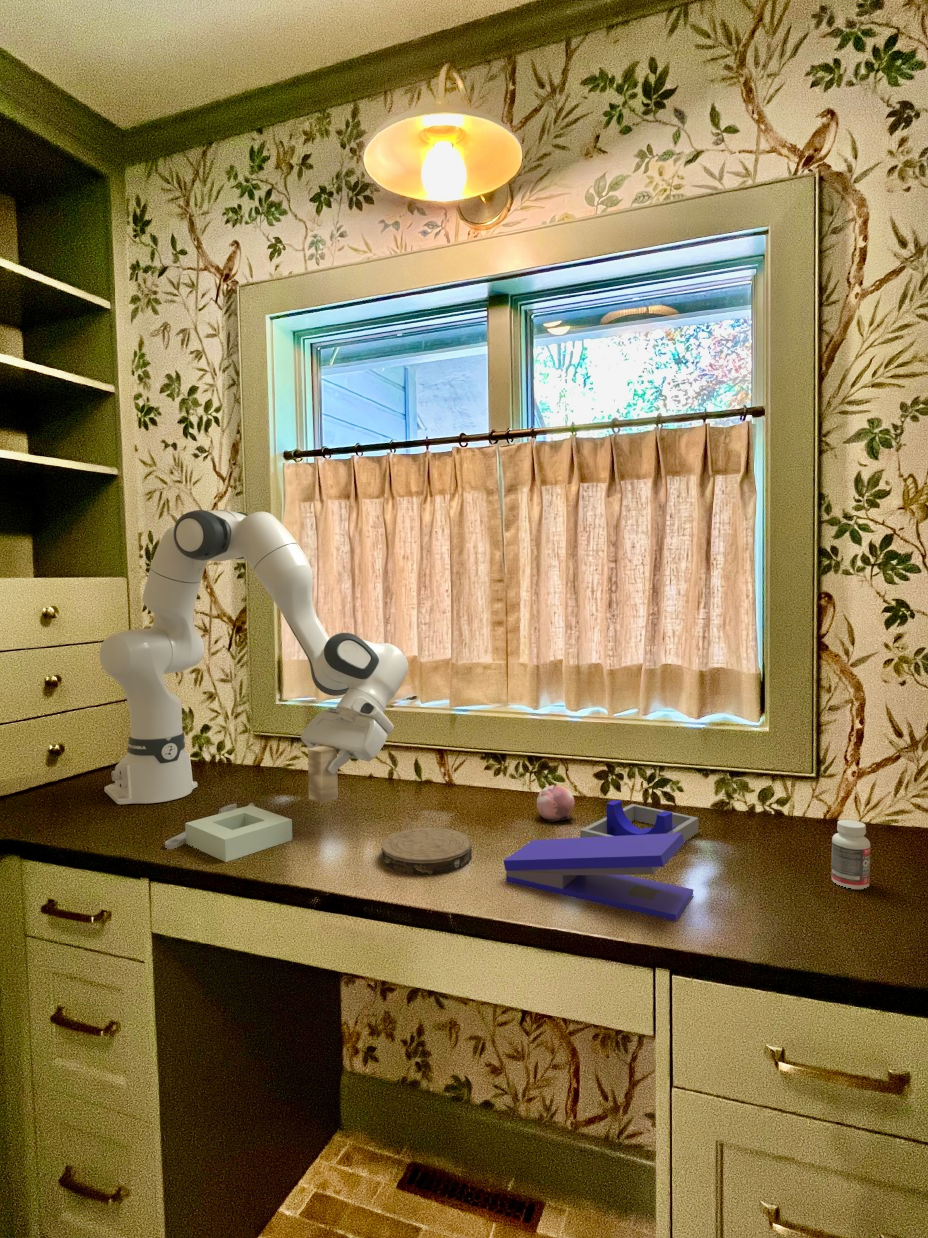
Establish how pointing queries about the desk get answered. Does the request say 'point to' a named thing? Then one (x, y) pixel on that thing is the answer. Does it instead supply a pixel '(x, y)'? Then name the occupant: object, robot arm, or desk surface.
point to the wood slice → (426, 851)
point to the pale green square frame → (238, 832)
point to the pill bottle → (851, 855)
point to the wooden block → (322, 774)
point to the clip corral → (646, 815)
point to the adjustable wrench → (181, 837)
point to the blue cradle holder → (624, 827)
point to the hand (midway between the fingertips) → (320, 769)
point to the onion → (555, 803)
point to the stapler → (603, 871)
